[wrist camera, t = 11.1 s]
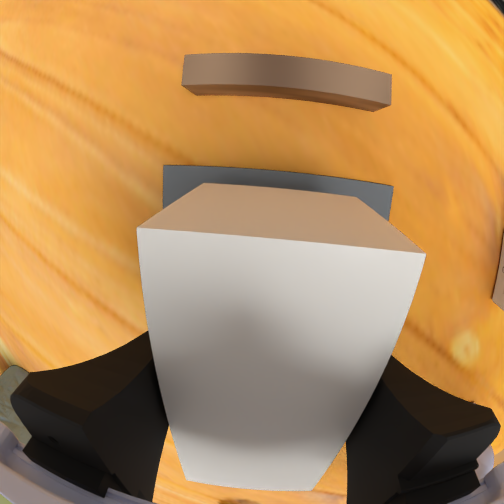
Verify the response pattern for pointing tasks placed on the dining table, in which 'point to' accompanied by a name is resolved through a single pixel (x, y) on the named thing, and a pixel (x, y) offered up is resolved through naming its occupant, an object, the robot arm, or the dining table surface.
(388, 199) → the thin grey square plate
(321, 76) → the brown rectangular bar
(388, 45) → the dining table surface
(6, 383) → the grey green tumbler
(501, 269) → the small box
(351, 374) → the white rectangular block
